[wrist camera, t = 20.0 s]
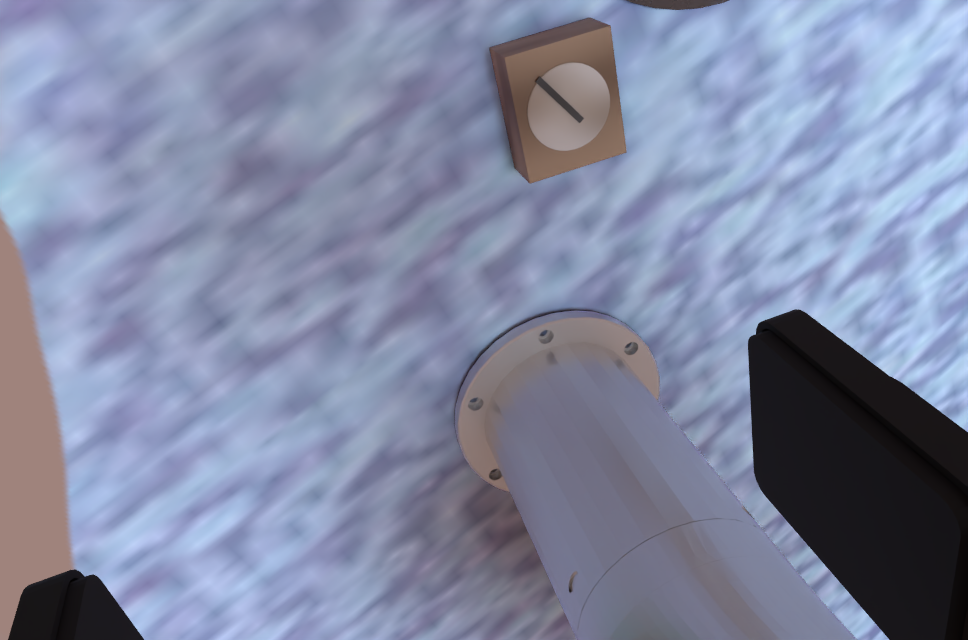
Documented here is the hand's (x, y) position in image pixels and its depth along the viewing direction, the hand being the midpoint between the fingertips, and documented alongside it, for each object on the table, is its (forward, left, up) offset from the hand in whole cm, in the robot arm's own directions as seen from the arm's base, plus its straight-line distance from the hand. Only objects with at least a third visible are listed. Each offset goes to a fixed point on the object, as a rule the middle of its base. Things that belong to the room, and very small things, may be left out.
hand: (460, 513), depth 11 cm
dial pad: (-4, -11, -28) cm, 31 cm away
